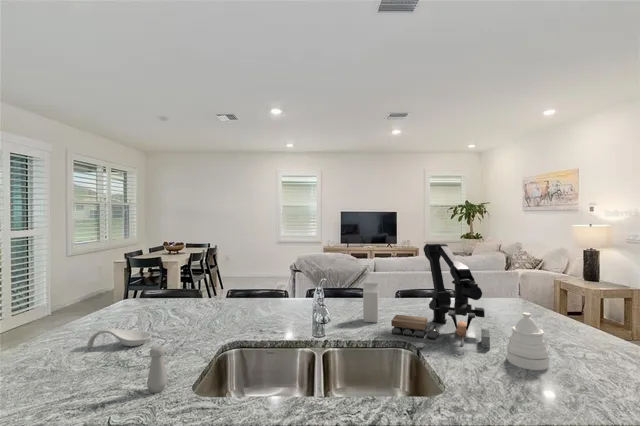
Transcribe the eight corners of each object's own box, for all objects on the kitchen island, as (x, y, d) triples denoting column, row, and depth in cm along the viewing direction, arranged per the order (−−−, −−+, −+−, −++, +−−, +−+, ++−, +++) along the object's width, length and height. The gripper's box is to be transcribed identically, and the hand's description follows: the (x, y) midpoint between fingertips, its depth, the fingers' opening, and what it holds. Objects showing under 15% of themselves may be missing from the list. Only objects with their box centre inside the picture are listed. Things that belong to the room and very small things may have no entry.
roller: (457, 329, 161) (457, 320, 161) (467, 330, 160) (466, 321, 160) (456, 335, 152) (456, 326, 152) (466, 337, 151) (466, 328, 151)
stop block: (481, 340, 146) (481, 328, 146) (489, 341, 145) (489, 329, 145) (481, 348, 137) (481, 336, 137) (490, 350, 136) (489, 337, 136)
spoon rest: (154, 338, 152) (154, 322, 152) (146, 348, 141) (146, 331, 141) (95, 343, 148) (95, 326, 148) (81, 353, 136) (81, 335, 136)
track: (397, 328, 163) (397, 320, 163) (464, 337, 150) (464, 328, 150) (390, 337, 151) (390, 328, 151) (463, 347, 139) (463, 337, 139)
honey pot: (549, 373, 116) (548, 319, 116) (506, 364, 123) (505, 314, 123) (548, 359, 127) (547, 310, 127) (508, 352, 133) (507, 305, 134)
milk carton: (377, 322, 172) (377, 284, 172) (363, 322, 173) (363, 284, 173) (378, 318, 179) (377, 282, 179) (364, 318, 180) (364, 281, 180)
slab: (396, 319, 161) (396, 314, 162) (427, 323, 156) (427, 318, 156) (391, 326, 152) (391, 320, 152) (424, 330, 147) (424, 324, 147)
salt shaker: (151, 385, 109) (151, 344, 109) (170, 384, 110) (170, 343, 110) (143, 395, 103) (143, 351, 103) (163, 394, 104) (163, 350, 104)
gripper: (437, 296, 153) (438, 332, 153) (484, 300, 145) (485, 338, 145) (440, 291, 163) (440, 325, 163) (484, 295, 155) (484, 330, 155)
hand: (461, 329), depth 156 cm, fingers closed on roller, 4 cm apart
